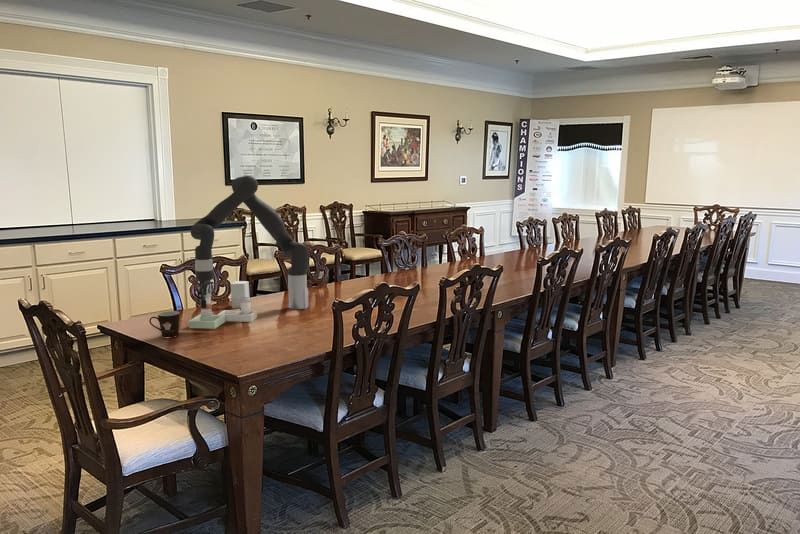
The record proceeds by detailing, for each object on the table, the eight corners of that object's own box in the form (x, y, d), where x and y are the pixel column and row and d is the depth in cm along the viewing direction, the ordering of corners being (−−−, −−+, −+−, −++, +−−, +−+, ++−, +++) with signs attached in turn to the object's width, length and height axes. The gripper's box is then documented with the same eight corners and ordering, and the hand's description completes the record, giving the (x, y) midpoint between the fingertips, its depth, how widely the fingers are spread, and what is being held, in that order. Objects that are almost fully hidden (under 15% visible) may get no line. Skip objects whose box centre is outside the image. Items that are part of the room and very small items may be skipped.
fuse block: (257, 319, 290) (257, 311, 290) (251, 323, 283) (251, 315, 282) (224, 318, 292) (223, 310, 291) (217, 322, 284) (217, 314, 283)
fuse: (252, 318, 289) (251, 297, 287) (249, 320, 284) (248, 299, 282) (242, 317, 289) (241, 296, 288) (239, 320, 285) (238, 299, 283)
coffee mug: (185, 334, 265) (183, 311, 263) (171, 340, 257) (170, 316, 255) (163, 332, 269) (161, 309, 267) (149, 337, 261) (147, 314, 259)
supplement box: (250, 304, 320) (249, 280, 318) (245, 308, 313) (244, 283, 310) (236, 304, 321) (235, 280, 318) (231, 307, 313) (230, 283, 311)
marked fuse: (213, 313, 279) (212, 292, 277) (209, 316, 274) (208, 294, 272) (203, 313, 279) (202, 291, 277) (199, 316, 274) (197, 294, 273)
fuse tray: (225, 323, 283) (225, 315, 282) (215, 330, 271) (214, 321, 270) (200, 323, 284) (199, 314, 283) (188, 330, 272) (188, 321, 271)
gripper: (205, 272, 266) (207, 310, 269) (218, 266, 280) (220, 303, 283) (189, 271, 266) (191, 310, 269) (202, 266, 280) (204, 303, 283)
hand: (206, 306), depth 276 cm, fingers closed on marked fuse, 4 cm apart
